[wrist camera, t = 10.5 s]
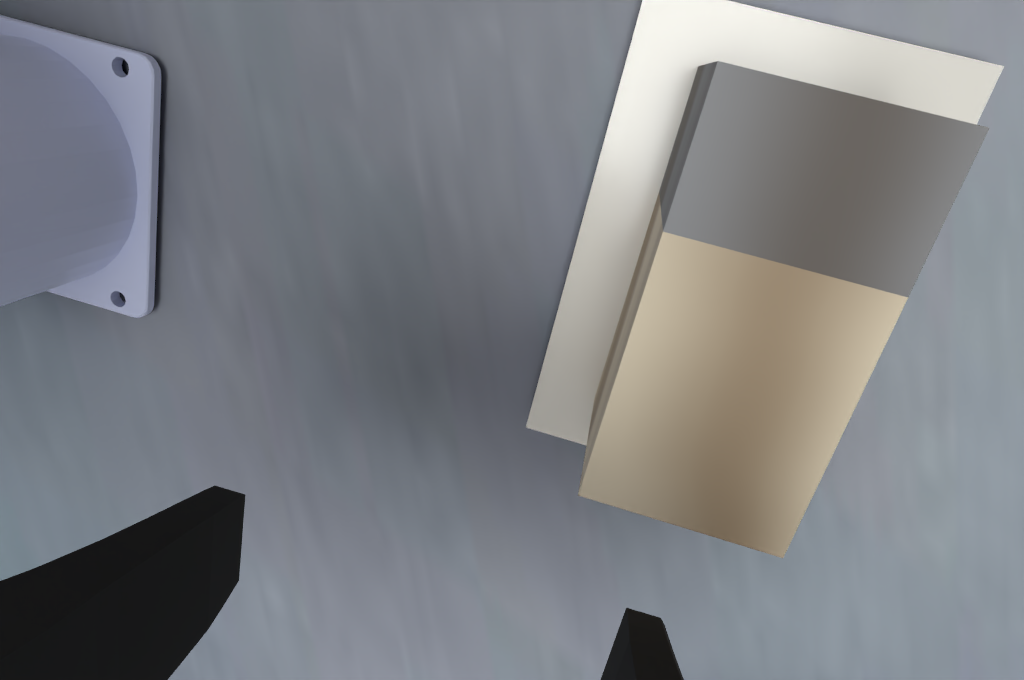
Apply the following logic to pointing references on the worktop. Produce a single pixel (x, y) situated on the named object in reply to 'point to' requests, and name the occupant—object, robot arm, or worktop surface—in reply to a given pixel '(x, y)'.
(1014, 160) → the worktop surface
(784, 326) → the capped bar
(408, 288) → the worktop surface
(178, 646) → the robot arm
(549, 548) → the worktop surface
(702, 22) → the tile
